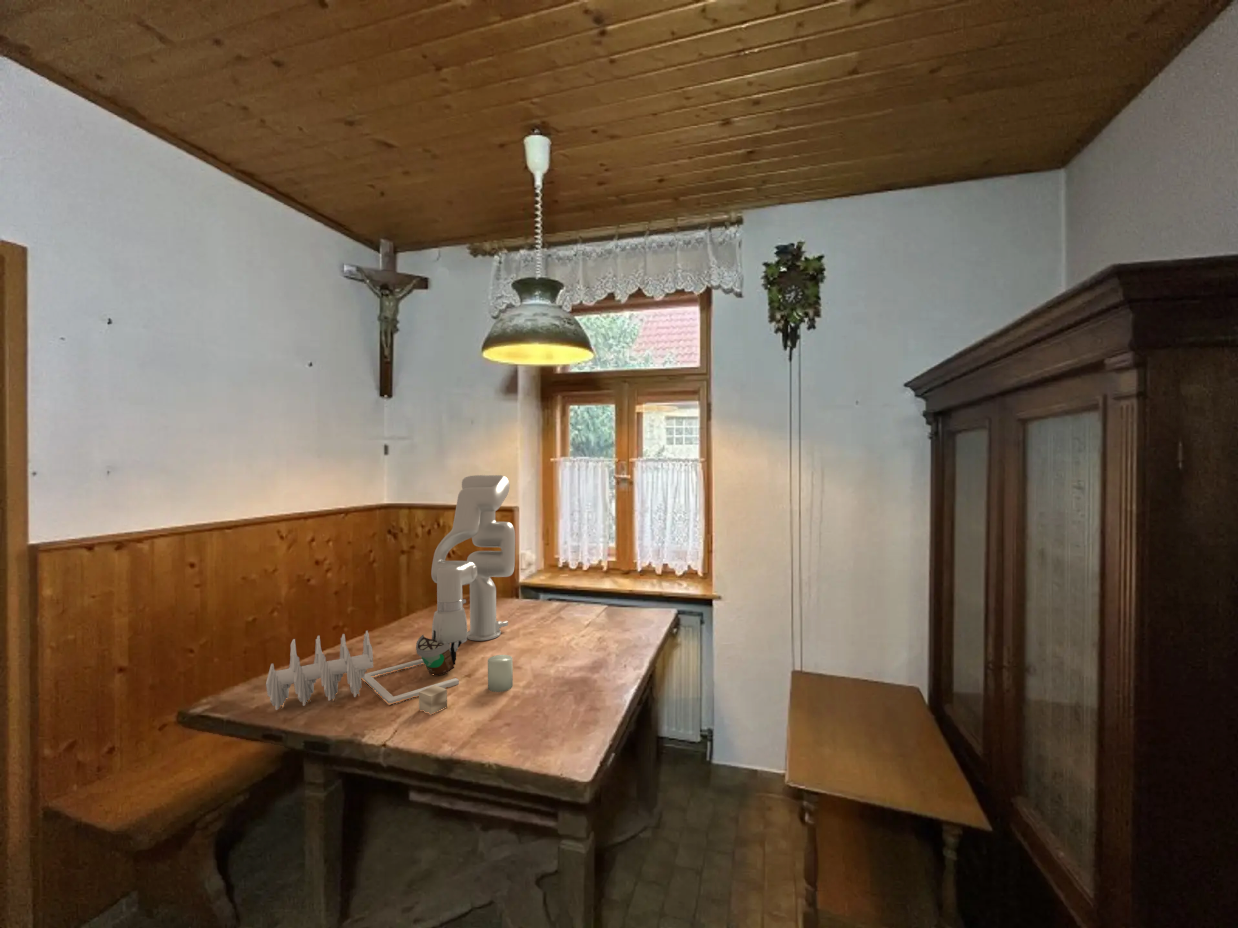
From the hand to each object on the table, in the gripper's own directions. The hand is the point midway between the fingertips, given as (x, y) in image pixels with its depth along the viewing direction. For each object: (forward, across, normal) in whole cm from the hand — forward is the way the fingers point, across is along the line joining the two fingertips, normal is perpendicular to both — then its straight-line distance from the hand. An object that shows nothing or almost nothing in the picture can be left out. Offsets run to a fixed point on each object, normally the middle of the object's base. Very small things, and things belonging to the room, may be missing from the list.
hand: (450, 663), depth 166 cm
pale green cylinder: (+2, -5, +22) cm, 22 cm away
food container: (+1, +4, -1) cm, 4 cm away
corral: (+2, +12, -1) cm, 12 cm away
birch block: (+2, +15, +21) cm, 26 cm away
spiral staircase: (+2, +35, -5) cm, 35 cm away
